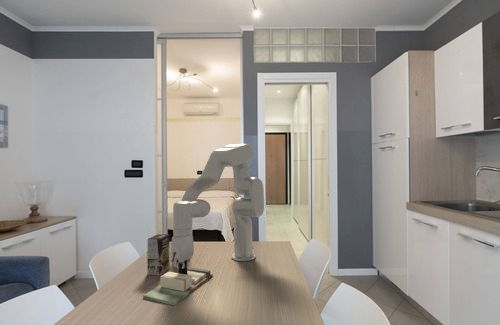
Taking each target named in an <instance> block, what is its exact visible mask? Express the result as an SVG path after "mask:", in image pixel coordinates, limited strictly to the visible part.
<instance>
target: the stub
mask: <svg viewBox="0 0 500 325" xmlns="http://www.w3.org/2000/svg"><path fill="white" fill-rule="evenodd" d="M159 277H160V279H159V280H160V285H161V287H164V288H169V289H174V290H179V291H185V290H187V289H188V288H189V287H191V286H192V276H191V275H185V274H180V273H179V272H174V271H167V272H165V273H163V275H162V274H161V275H160V276H159Z"/></svg>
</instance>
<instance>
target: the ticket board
mask: <svg viewBox="0 0 500 325" xmlns="http://www.w3.org/2000/svg"><path fill="white" fill-rule="evenodd" d="M187 275H191V276H192V286H191V287H189V288H188V289H187V290H185V291H179V290H174V289H169V288H164V287H161V284H160V285H158V286H156V287H155V288H153V289H152V290H150V291H148V292H146V293H145V294H143V295H142V298H143V299H145V300H149V301H153V302H157V303H162V304H167V305H171V306H177V304H179V303H180V302H181V301H183V300H184V299H185V298H186V297H188V296H189V295H190V294H192V293H193V292H194V291H195V290H196V289H198V288H199V287H201V286H202V285H203V284H204V283H206V282H207V281H209V280H210V279H211V278H212V277H213V275H214V274H212V273H211V270H209V269H204V268H198V267H192V266H188V267H187Z"/></svg>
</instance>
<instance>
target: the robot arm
mask: <svg viewBox="0 0 500 325" xmlns="http://www.w3.org/2000/svg"><path fill="white" fill-rule="evenodd" d="M253 156H254V148H253V147H252V145H250V144H248V143H237V144H235V143H234V144H228V145H225V146H224V147H223V148H219V149H214V150H213V151H212V152H211V154H210V155H209V157H208V160H207V162H206V164H205V165H204V168H203V170H202V172H201V174H200V176H198V178H196V179H195V180H194V181H193V182H192V183H191V184H190V185H189V186H188V187H187V189H186V190H185V192H184V194H183V196H182V198H181V199H180V201H176V202H174V203H173V208H172V209H173V210H172V211H173V212H172V215H173V216H172V217H173V218H172V220H173V221H172V222H173V224H172V226H173V228H172V229H173V230H172V232H173V233H172V234H173V235H172V237H171V242H170V250H169V257H170V262H171V263H173V264H172V265H173V267H177V268H178V273H180V274H185V275H187V267H189V262H190V261H191V259H192V258H193V256H194V249H195V248H194V236H193V219H194V218H199V219H200V218H205V217H207V216H208V215H209V214H210V212H211V204H210V203H209V202H208V201H207V200H205V199H201V198H200V199H199V198H198V197H199V196H200V195H201V194H203V192H204V191H207V190H208V189H211V188H212V187H214V186H216V185H217V184H219V181H220V180H221V177H222V174H223V172H224V170H225V169H226V167H227V168H232V174H233V189H234V192H235V193H236V194H237V195H238V196H239V195H240V197H236V198H235V199H234V200H233V202H232V206H231V208H232V210H231V211H232V214H233V226H234V227H233V228H234V229H233V230H234V231H233V234H234V235H233V236H234V237H233V238H234V241H233V243H234V244H233V247H234V251H233V253H232V254H231V259H232V260H233V261H237V262H248V261H249V262H250V261H253V260H254V259H256V253H254V252H253V249H254V248H255V247H254V245H253V222H252V221H253V220H252V218H260V217H261V216H262V215H263V214H264V211H265V193H264V192H265V190H264V183H263V181H262V180H261V179H260V178H259V177H257V176H251V174H250V166H249V163H248V162H249V161H250V160H251V159H252V158H253ZM245 196H246V197H245ZM248 196H249V197H248Z"/></svg>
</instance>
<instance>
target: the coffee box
mask: <svg viewBox="0 0 500 325" xmlns="http://www.w3.org/2000/svg"><path fill="white" fill-rule="evenodd" d="M146 254H147V256H146V257H147V260H146V261H147V262H146V263H147V264H146V265H147V266H146V268H147V269H146V270H147V275H148V276H149V275H150V276H158V277H160V276H162V274H165V273H166V271H168V270H169V269H170V267H171V266H170V262H171V261H170V234H167V233H165V234H161V233H160V234H159V233H157V234H156V235H152V236H151V237H149V238H147V253H146Z"/></svg>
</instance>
